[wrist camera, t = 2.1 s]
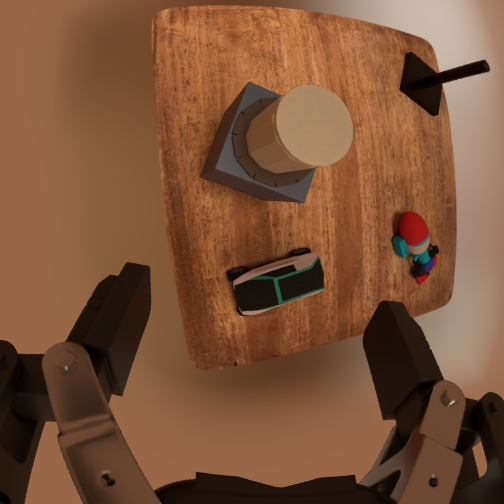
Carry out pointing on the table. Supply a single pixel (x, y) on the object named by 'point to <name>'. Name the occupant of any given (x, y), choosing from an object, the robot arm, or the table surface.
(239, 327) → the table surface
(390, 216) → the table surface
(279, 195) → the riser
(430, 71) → the hat stand
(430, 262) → the toy figure
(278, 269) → the toy car
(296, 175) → the hat
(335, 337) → the table surface
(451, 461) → the robot arm
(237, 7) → the table surface
